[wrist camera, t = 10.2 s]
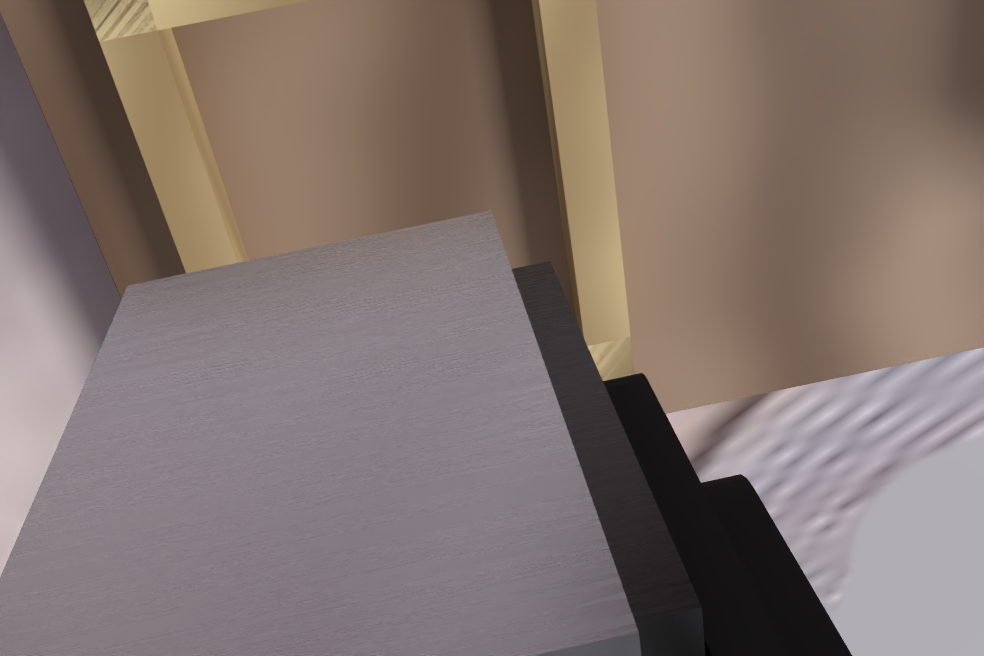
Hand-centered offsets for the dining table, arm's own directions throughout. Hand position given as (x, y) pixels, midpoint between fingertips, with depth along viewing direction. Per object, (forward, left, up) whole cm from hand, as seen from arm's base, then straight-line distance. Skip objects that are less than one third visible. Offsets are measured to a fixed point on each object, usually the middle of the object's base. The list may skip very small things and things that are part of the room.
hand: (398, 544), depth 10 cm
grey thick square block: (0, 0, -2) cm, 2 cm away
